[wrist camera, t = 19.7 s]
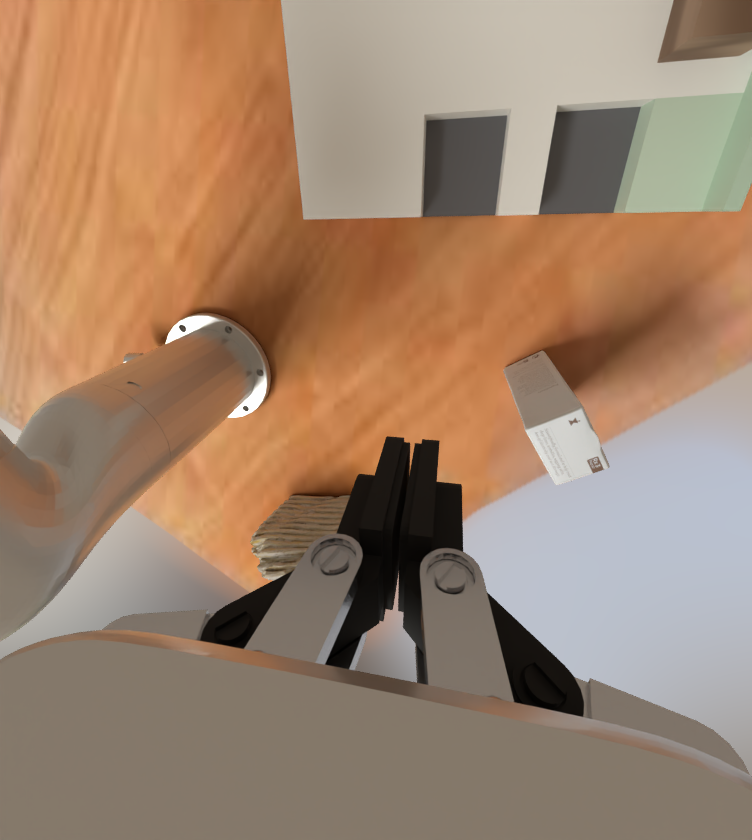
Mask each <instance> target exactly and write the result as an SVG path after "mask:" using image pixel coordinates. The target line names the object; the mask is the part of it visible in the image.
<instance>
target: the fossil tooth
mask: <svg viewBox="0 0 752 840" xmlns="http://www.w3.org/2000/svg"><path fill="white" fill-rule="evenodd" d="M349 498H350V495H346V496H340V497H336V498H334V497H331V496H328V497H316V496H300V495H295V496H290V498H289V500H285V502H284V504H283V505H280V506H279V508H278V509H277V510H275V511H274V512H273V513H272V514H271V515H270V516H269V517H268V518H267V520H266V521H264V522H263V523H262V524H261V525H260V526H259V529H258V530H257V531H256V532H255V533H254V534H253V536H252V540H251V541H250V543H251V544H252V545H253V546H254V547H253V548H252V552H253V554H254V555H255V556H256V557H257V558H260V559H259V560H260V564H259V565H258V566H257V568H258V570H259V571H260V572H261V573H262V577H263V578H267V579H268V580H273V581H274V580H276V579H278V578H280V577H281V576H283V575H285V574H287V573H289V572H291V571H293V570H294V569H295V568H296V566H297V564H298V563H299V561H300V560H301V558H302V557H303V555H304V553H305V552H306V550H307V549H308V548H309V546H310V545H311V544H312V543H313V542H314V541H316V540H317V539H319V538H320V537H323V536H326V535H329V534H336V533H337V530H338V527H339V525H340V522H341V519H342V517H343V514H344V511H345V508H346V506H347V503H348V500H349Z"/></svg>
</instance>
